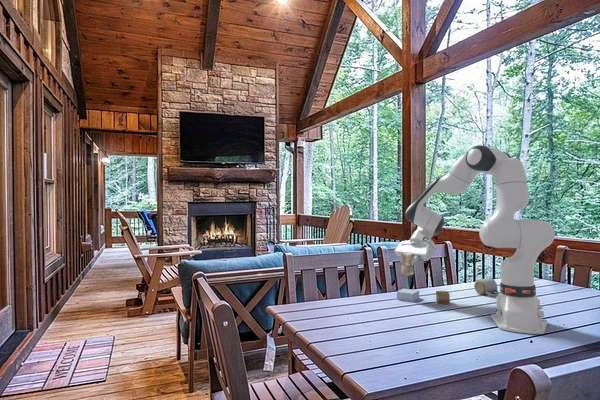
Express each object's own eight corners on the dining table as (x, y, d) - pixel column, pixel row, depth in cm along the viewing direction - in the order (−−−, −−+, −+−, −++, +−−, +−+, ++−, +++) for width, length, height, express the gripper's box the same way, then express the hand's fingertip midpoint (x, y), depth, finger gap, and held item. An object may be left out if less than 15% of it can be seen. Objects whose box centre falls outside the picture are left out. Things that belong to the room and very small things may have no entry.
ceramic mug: (473, 293, 188) (472, 277, 188) (485, 291, 191) (485, 276, 191) (490, 298, 178) (490, 282, 178) (503, 296, 181) (503, 280, 181)
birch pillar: (413, 274, 180) (413, 253, 180) (408, 275, 178) (407, 254, 178) (407, 273, 184) (406, 252, 184) (401, 274, 181) (400, 253, 182)
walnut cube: (449, 304, 169) (449, 293, 169) (438, 304, 170) (437, 293, 170) (447, 301, 174) (447, 291, 174) (436, 301, 175) (436, 290, 175)
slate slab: (413, 302, 175) (412, 293, 175) (396, 299, 180) (396, 291, 180) (419, 298, 181) (419, 290, 181) (403, 296, 186) (403, 288, 186)
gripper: (399, 236, 194) (386, 256, 188) (433, 238, 176) (420, 261, 171) (405, 244, 196) (393, 264, 190) (439, 247, 179) (426, 270, 173)
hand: (406, 263), depth 181 cm, fingers closed on birch pillar, 4 cm apart
